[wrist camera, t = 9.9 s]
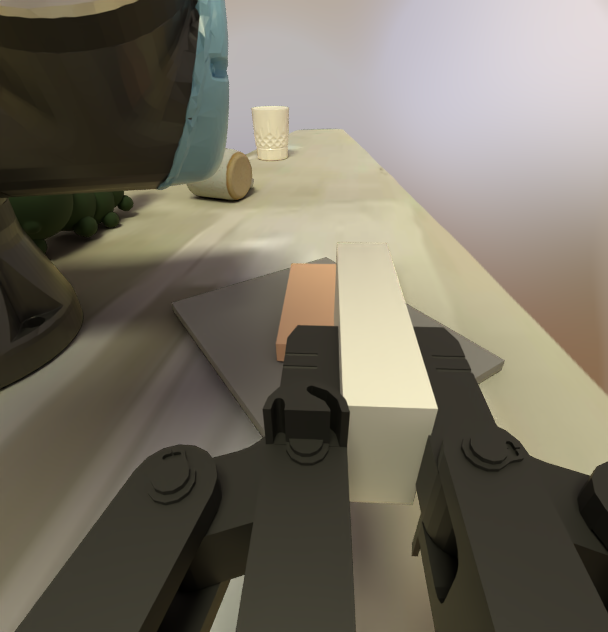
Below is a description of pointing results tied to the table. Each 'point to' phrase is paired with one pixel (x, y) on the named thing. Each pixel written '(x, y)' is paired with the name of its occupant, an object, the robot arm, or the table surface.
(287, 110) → the white cup
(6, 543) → the table surface
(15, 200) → the toy figurine
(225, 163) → the ceramic mug
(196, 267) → the table surface
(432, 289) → the table surface
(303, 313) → the tile
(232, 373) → the mat
